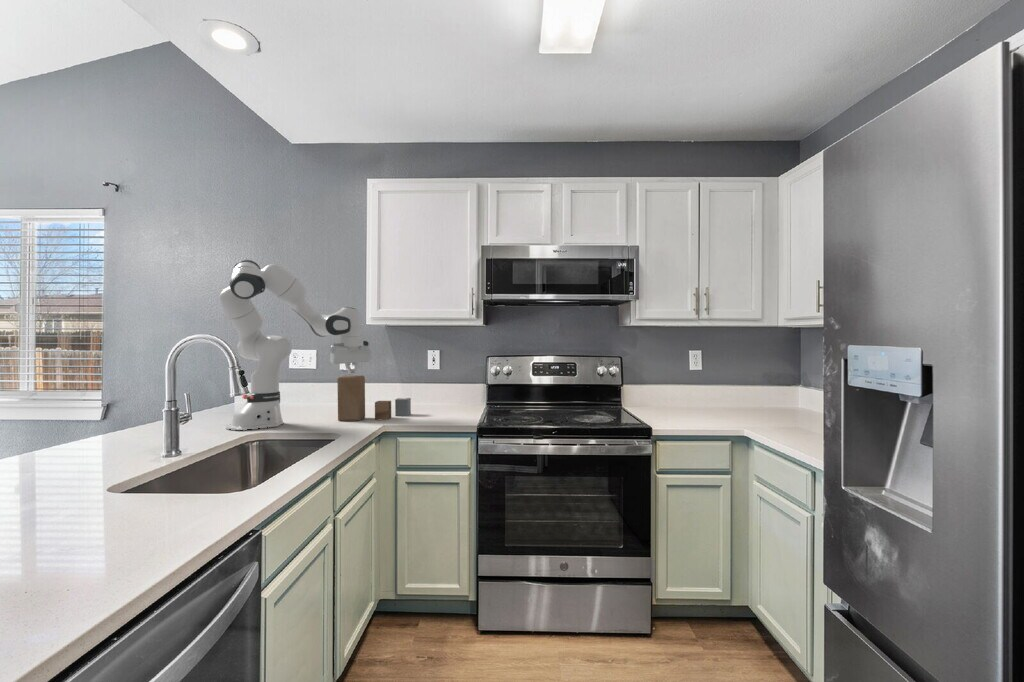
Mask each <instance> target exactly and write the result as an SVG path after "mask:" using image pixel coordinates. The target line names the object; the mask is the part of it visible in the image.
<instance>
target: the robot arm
mask: <svg viewBox="0 0 1024 682" xmlns="http://www.w3.org/2000/svg"><path fill="white" fill-rule="evenodd" d="M265 290H267V291H270V292H271V293H272V294H273V295H275V296H276V297H277V299H279V300H281V301H282V302H283V303H285V304H286V305H288V307H290V309H292V310H293V311H294V312H295V313H296V314H298V315H299V317H301V319H303V320H304V321H305V322H306V323H307V324H308V325H309V327H310V330H311V331H312V332H313V334H314V335H316V336H318V337H321V338H323V337H335V336H336V337H337V336H339V335H340V342H338V343H335V342H334V343H333V344H332V345H330V355H329V357H330V358H329V362H330V363H331V365H342V364H344V365H345V368H346V369H347V373H348V374H353V373H356V368H357V367H358V363H368V362H371V361H372V349H371V347H370V346H371V342H370V341H368V340H365V339H363V338H361V337H362V336H361V332H360V331H361V314H360V312H359V310H358V309H357V308H354V307H349V306H344V307H341V308H340V309H339V310H338V311H336V312H334V313H331V314H322V313H319V312H318V311H317V310H316V309H315V308H314V307H312V305H310V304H309V303H308V302H307V300H306V297H307V288H306V286H305V285H304V283H302V282H301V280H300V279H298V278H297V277H296V276H295V275H293V273H291V272H290V271H288V270H287V269H286V268H284V267H282V266H280V265H279V264H277V263H270V264H267V265H266V266H264V267H263V268H261V267H260V265H259V264H258V263H257V262H255V261H253V260H252V259H242V260H239V261H238V262H237V263H236V264H235V265H234V266H233V270H232V271H231V273H230V281H229V286H228V287H226V288H224V289H223V290H222V291H221V292H220V294H219V295H218V296H219V302H220V304H221V307H222V309H223V310H224V313H225V314H226V316H227V318H228V320H230V322H231V324H232V326H233V327H234V329H235V330H236V333H237V334H238V339H239V341H238V342H237V346H236V351H237V353H238V355H239V356H240V357H241V358H243V359H246V360H249V361H259V363H258V366H257V367H256V370H255V371H252V373H251V375H250V393H249V394H246V395H243V394H242V396H241V398H242V399H243V400H246V402H245V403H244V404H243V405H242V406H241V407H239V408H238V409H237V410H235V411H234V412H233V413H232V418H231V424H227V425H225V429H226V430H229V429H231V430H230V431H235V430H243V431H248V430H247V429H252V430H257V429H258V428H260V429H267V427H268V428H274V427H275V428H276V427H279V426H280V425H282V424H284V420H283V417H282V413H281V392H280V373H281V370H282V366H283V364H284V362H285V361H286V359H288V358H289V357H290V355H291V354H292V350H293V348H292V347H293V346H292V343H291V340H289V338H288V337H287V338H286V337H284V336H280V335H273V334H272V335H265V334H264V333H263V331H262V329H261V328H262V327H263V325H264V319H263V317H262V316H261V314H260V312H259V310H258V309H257V307H256V305H255V304H254V302H253V300H252V298H254V297H256V296H258V295H260V294H262V293H264V292H265ZM351 365H352V366H351Z"/></svg>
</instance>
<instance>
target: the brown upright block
mask: <svg viewBox="0 0 1024 682" xmlns="http://www.w3.org/2000/svg"><path fill="white" fill-rule="evenodd" d="M391 418H392V400H376V401H374V420H375V421H378V420H377V419H382V421H384V420H385V421H386V420H390V419H391Z"/></svg>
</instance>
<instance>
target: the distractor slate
mask: <svg viewBox="0 0 1024 682" xmlns="http://www.w3.org/2000/svg"><path fill="white" fill-rule="evenodd" d="M394 402H395V405H394V408H395V409H394V411H395V412H394V413H395V415H394V416H395V417H409V416H410V415H412V414H411V413H412V410H411V409H412V405H411V397H398V398H395V399H394Z"/></svg>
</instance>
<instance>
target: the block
mask: <svg viewBox="0 0 1024 682" xmlns="http://www.w3.org/2000/svg"><path fill="white" fill-rule="evenodd" d="M336 382H337V420H338V421H339V422H359V421H360V420H362V419H364V418H366V377H365V375H363V374H361V375H359V374H358V375H356V374H355V375H342V376H338V377H337V381H336Z"/></svg>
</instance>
